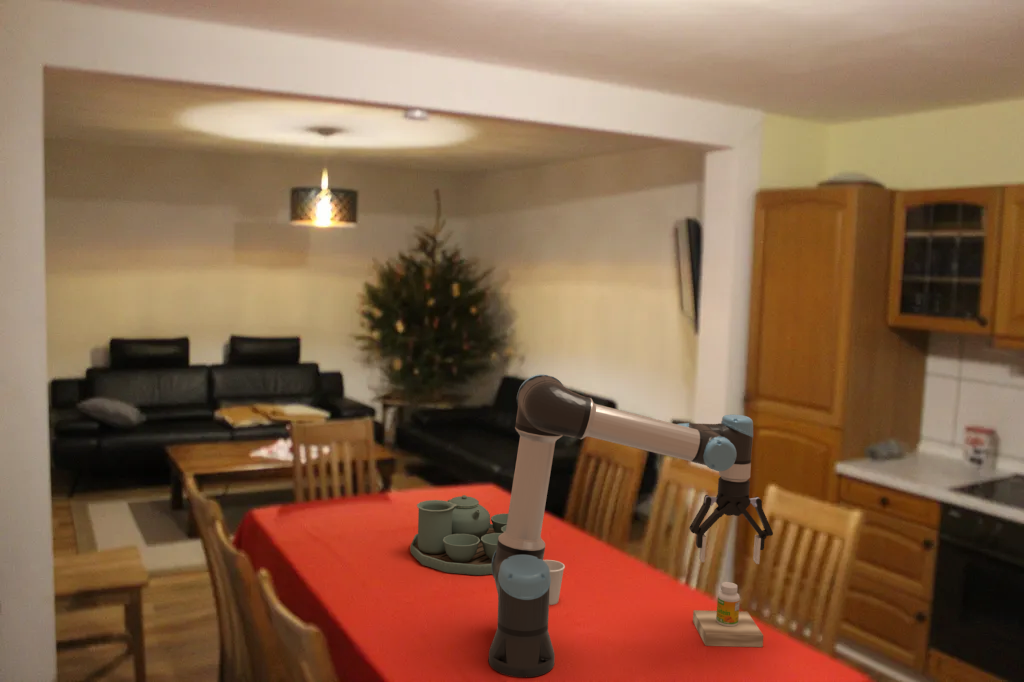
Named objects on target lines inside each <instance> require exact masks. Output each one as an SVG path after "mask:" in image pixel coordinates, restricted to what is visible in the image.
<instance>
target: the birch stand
mask: <svg viewBox="0 0 1024 682" xmlns="http://www.w3.org/2000/svg"><path fill="white" fill-rule="evenodd" d="M716 615H717V610H700V609H699V610H697V609H694V610H693V611H692V622H693V624H694V627H695V628H696V631H697V633H698V634H699V636H700V639H701V640H702V642H703V644H704V646H707V647H741V648H745V647H747V648H763V646H764V634H763V633H762V631H761V630H760V628H759V627H758V625H757V624H756V622H755V620H754V619H753V618H752V617H751V614H750V612H748V611H740V610H739V619H738V624H737V625H736V626H724V625H721V624H719V623H718V622H717V621H716Z"/></svg>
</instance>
